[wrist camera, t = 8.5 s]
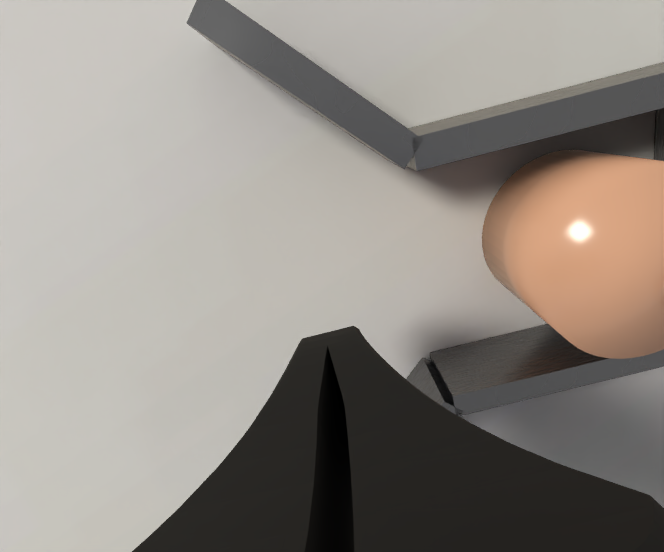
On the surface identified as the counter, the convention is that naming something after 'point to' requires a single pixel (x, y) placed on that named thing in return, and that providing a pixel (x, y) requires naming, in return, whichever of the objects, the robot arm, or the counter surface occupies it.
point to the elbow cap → (585, 248)
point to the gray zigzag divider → (448, 146)
